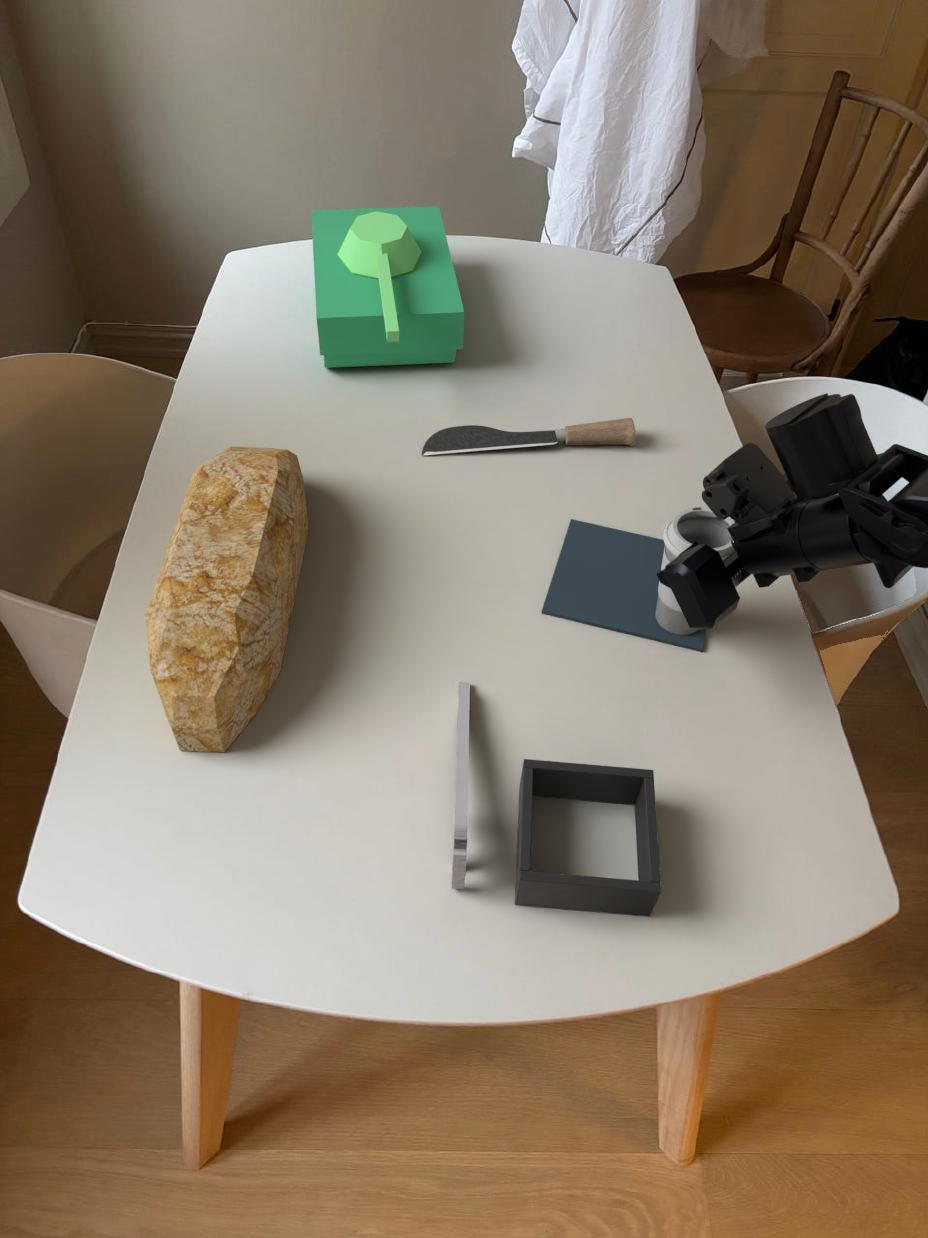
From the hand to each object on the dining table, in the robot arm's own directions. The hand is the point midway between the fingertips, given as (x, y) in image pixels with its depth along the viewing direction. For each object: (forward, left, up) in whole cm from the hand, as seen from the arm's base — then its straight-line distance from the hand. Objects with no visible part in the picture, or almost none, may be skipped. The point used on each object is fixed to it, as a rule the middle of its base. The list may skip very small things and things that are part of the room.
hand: (682, 559), depth 88 cm
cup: (-1, +1, -7) cm, 7 cm away
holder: (+3, +28, -8) cm, 29 cm away
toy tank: (+43, -38, -8) cm, 58 cm away
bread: (+41, +12, -8) cm, 43 cm away
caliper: (+14, +25, -8) cm, 30 cm away
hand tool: (+20, -22, -8) cm, 31 cm away
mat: (+4, -3, -8) cm, 9 cm away
